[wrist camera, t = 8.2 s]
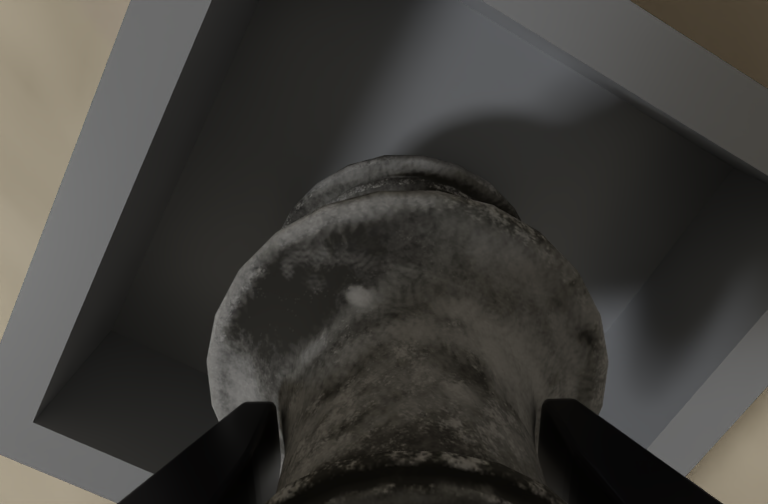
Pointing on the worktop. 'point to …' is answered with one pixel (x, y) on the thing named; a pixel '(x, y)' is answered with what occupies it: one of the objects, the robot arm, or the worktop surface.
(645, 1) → the worktop surface
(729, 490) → the worktop surface
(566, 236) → the bin
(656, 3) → the worktop surface
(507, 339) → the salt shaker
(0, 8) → the worktop surface
